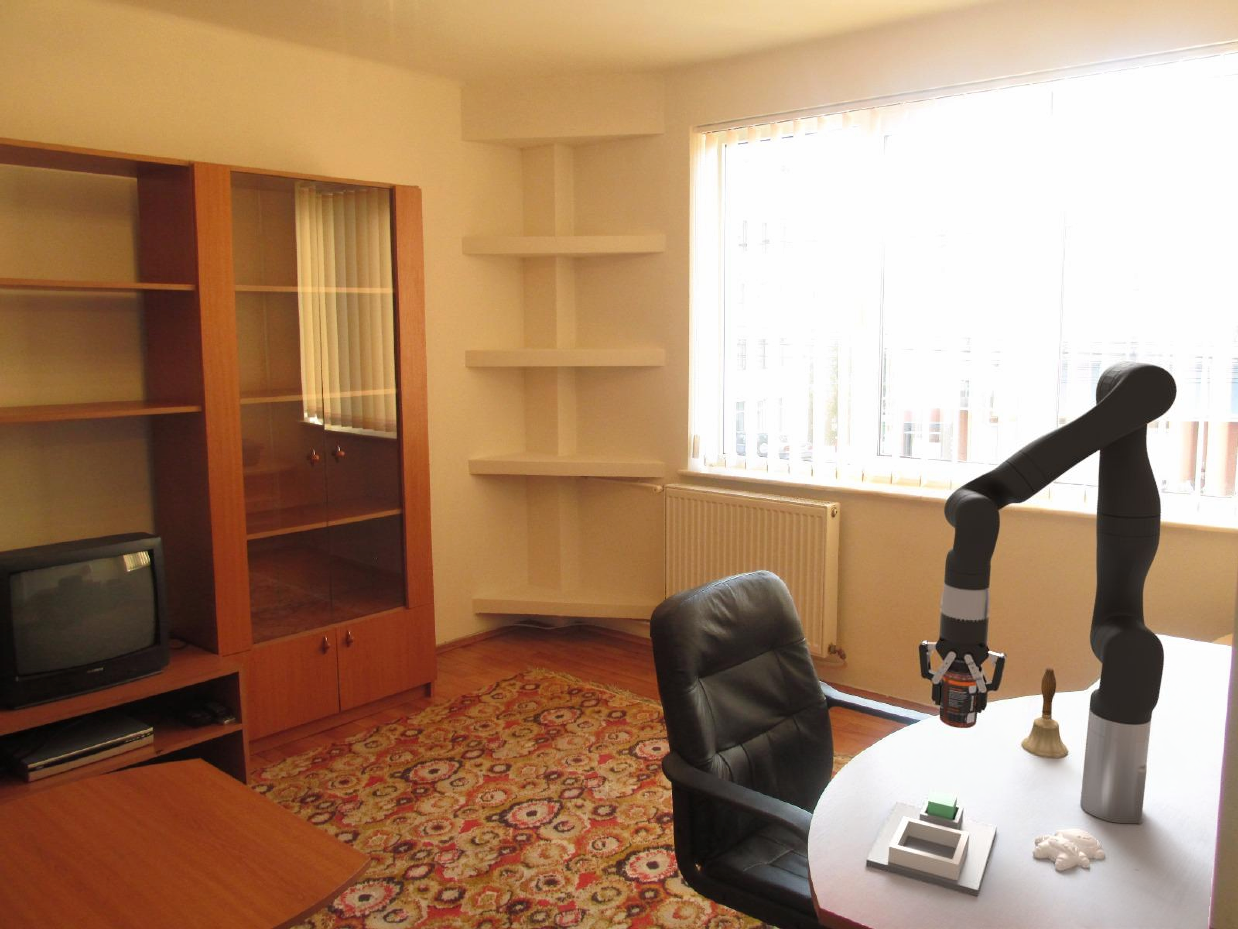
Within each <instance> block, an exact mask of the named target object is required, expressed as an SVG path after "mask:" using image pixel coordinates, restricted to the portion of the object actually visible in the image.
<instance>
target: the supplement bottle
mask: <svg viewBox="0 0 1238 929" xmlns="http://www.w3.org/2000/svg"><path fill="white" fill-rule="evenodd" d="M950 666H951V668H948V669H947V671H946V672H945V674H944V675H943V677H942V682H941V698H940V706H939V720H940V722H942V723H943V724H945V725H946V726H949V727H951V728H956V729H970V728H972V727H974V726H975V725H976V724H977V718H978V713H976V706H977V692H978V690H979V689H978V686H977V684H976V680H974V679H973V677H972V674H971V672H970V669H969V667H968V665H967V663H966V661H964V660H957V659H954V660H953V662H952V663H951V665H950Z"/></svg>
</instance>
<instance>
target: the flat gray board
mask: <svg viewBox="0 0 1238 929" xmlns="http://www.w3.org/2000/svg"><path fill="white" fill-rule="evenodd" d="M929 798H930V797H929ZM929 798H928V797H927V798H926V800H925V802H924V804H923V806H922V807H920V806H915V805H911V804H907V803H904V802H901V801H900V802H899V801H895V804H894V805H893V808H892V809H891V812H890V813H889V815H888V817H887V819H886V821H885V822H884V824H883V826H882V828H881V831H880V833H879V834H878V837H877V838H876V840H875V842H874V844H873V846H872V848H871V850H870V852H869V854H868V856H867V858H866V862H865V866H866V867H869V868H873V869H877V870H881V871H884V872H888V873H891V874H895V875H898V876H903V877H906V878H910V879H913V880H916V881H920V882H924V883H928V884H930V885H935V886H939V887H943V888H946V889H949V890H954V891H955V892H960V893H964V894H967V895H970V896H975V897H978V895H979V893H980V889H981V885H982V882H983V879H984V875H985V871H986V868H987V865H988V861H989V858H990V855H991V851H992V848H993V845H994V844H993V843H994V841H995V837H996V835H995V834H997V829H998V827H997V825H994V824H989V823H986V822H982V821H977V820H974V819H970V818H969V819H968V818H965V817H964V808H965V807H964V806H961V805H959V804H958V805H957V804H956V815H955V818H954V820H951V819H946V818H942V817H938V816H934V815H930V814H927V812H928V800H929Z"/></svg>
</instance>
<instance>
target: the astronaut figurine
mask: <svg viewBox="0 0 1238 929" xmlns="http://www.w3.org/2000/svg"><path fill="white" fill-rule="evenodd" d="M1034 842H1035V844H1036V846H1035V847H1034V848H1033V850H1032V856H1033V857H1034V858H1036V857H1037V858H1036V859H1045V858H1046V857H1047V858H1049V859H1050V860H1052V861H1054V862H1055V863H1054V869H1055V870H1056V869H1057V871H1059V870H1061V871H1064V869H1065V870H1067V869H1068V870H1069V869H1070V868H1073V867H1075V866H1077V865H1079V866H1080V867H1083V868H1084V869H1085V868H1086V869H1088V868H1089V867H1090V864H1091V863H1090V859H1093V858H1094V860H1095V859H1097V860H1102V859H1104V858H1105V854H1106V853H1105V851H1104V850H1103V848H1102V845H1101V843H1100V841H1099V840H1098V839H1096V838H1095V837H1094V836H1093V835H1092V834H1091V833H1089V832H1087V831H1085V830H1082V829H1078V828H1067V829H1064V830H1062V829H1058V830H1056V831H1055V833H1054V835H1053V836H1051V835H1048V834H1045V835H1040V836H1038V837H1035V839H1034Z"/></svg>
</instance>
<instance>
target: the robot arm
mask: <svg viewBox="0 0 1238 929" xmlns="http://www.w3.org/2000/svg"><path fill="white" fill-rule="evenodd" d="M1175 380H1176V379H1174V377H1173V375H1172V374H1171V373H1170V372H1169V371H1168V370H1167V369H1165V368H1164V367H1161V366H1158V365H1157V364H1150V363H1143V362H1135V361H1120V362H1115V363H1113V364H1112V365H1110V366H1108V367H1107V368H1105V370H1104V371H1103V372H1102V374H1101V375H1100V377H1099V379H1098V381H1097V385H1096V388H1095V404H1096V405H1094V406H1093V407H1091V409H1089V410H1088V411H1086V412H1085V413H1083V414H1081V415H1080V416H1078V417H1077V418H1075V419H1073V420H1072V421H1070V422H1068V423H1066V424H1063V425H1062V426H1060V427H1057V428H1056V429H1054V430H1051V431H1049V432H1048V433H1046V434H1044V435H1042V436H1040V437H1037V438H1036V439H1034V440H1033V441H1031V442H1029V443H1028V444H1026V445H1025V446H1023V447H1022V448H1020V449H1019V450H1017V451H1016V452H1015V453H1014V454H1012V455H1011V456H1010V457H1008V458H1007V459H1005V461H1003V462H1001V463H1000V464H999V465H998V466H997V467H995V468H994V469H992V470H990V471H988V472H985V473H983V474H981V475H980V476H978V477H976V478H973V479H972V480H970V481H968V482H967V483H964V484H963V485H961V486H960V487H958V488H957V489H956V490H954V491H953V492H952V494H950V495H949V497H948V498H947V500H946V502H945V504H944V508H943V509H944V510H943V512H944V517H945V519H946V521H947V523H948V524H949V525H950V526H951V527H953V528H954V539H953V545H952V548H951V549H949V551H948V552H947V554H946V558H945V567H944V581H943V582H944V583H943V588H942V594H941V601H940V607H939V608H940V618H939V621H940V622H939V635H938V640H937V641H936V642H935V641H934V642H933V641H932V642H931V641H928V640H927V639H926V640H925V639H923V640H922V641H921V643H919V645H918V654H919V666H920V676H921V677H922V679H924V680H929V681H930V682H931V684H932V686H931V700H932V702H935V703H934V705H935V706H939V707H940V698H941V682H942V677H943V675H944V674H945V672H946V671H947V669H948V668H951V666H950V665H951V663H952V662H953V660H954V659H957V660H964V661H966V663H967V665H968V667H969V669H970V672H971V674H972V677H973V679H974V680H976V684H977V686H978V689H979V690H978V692H977V706H976V713H977V714H981V713H982V712H983V711H985V710H986V707H988V706H987V705H988V696H989V695H988V694H989V693H988V692H991V691H993V692H997V691H999V689H1000V686H1001V682H1002V678H1003V674H1004V670H1005V665H1006V662H1007V657H1008V656H1007V654H1006V652H999V653H997V652H993V651H992V650H991V651H990V649H989V646H988V635H989V621H990V607H991V594H990V582H991V581H990V580H991V570H992V566H991V565H992V564H991V562H992V558H993V555H994V553H995V551H996V550H995V549H996V545H997V542H998V539H999V533H1000V526H1001V516H1000V515H1001V514H1000V510H1002V509H1003V508H1005V507H1007V506H1009V505H1012V504H1022V503H1024V502H1026V501H1028V500H1029V499H1031V498H1032V497H1034V496H1035V495H1036V494H1037V493H1040V491H1042V490H1043V489H1045V488H1046V487H1048V486H1049V485H1050V484H1052V483H1053V482H1054V481H1055V480H1057V479H1059V477H1061V476H1062V475H1064V474H1065V473H1066V472H1069V470H1071V469H1073V467H1075V466H1077V465H1078V464H1080V463H1081V462H1083V461H1084V460H1085V459H1087V458H1089V457H1090V456H1092V455H1094V454H1095V453H1097V452H1099V460H1098V461H1099V463H1098V476H1097V478H1098V479H1097V480H1098V481H1097V482H1098V484H1097V501H1096V502H1097V503H1096V504H1097V505H1096V525H1095V526H1096V528H1095V530H1096V533H1095V534H1096V550H1095V551H1096V553H1095V554H1096V555H1095V556H1096V558H1095V559H1096V561H1095V562H1096V564H1095V566H1096V569H1095V570H1096V590H1095V598H1094V604H1093V606H1094V607H1093V612H1092V618H1091V624H1090V632H1089V643H1090V647H1091V651H1092V652H1093V655H1094V656H1095V657H1096V659H1098V662H1100V664H1101V671H1100V672H1101V673H1100V677H1099V678H1100V679H1099V686H1098V688H1097V689H1095V690H1093V691H1092V692H1091V694H1090V697H1089V699H1090V700H1089V709H1088V710H1089V711H1088V720H1087V731H1086V732H1087V733H1086V740H1085V752H1084V762H1083V770H1082V771H1083V773H1082V780H1081V783H1082V784H1081V791H1080V806H1081V808H1082V809H1083V810H1084V811H1086V812H1087V813H1088V814H1090V815H1092V817H1093V816H1094V817H1096V818H1097V819H1101V820H1104V821H1108V822H1112V823H1117V824H1118V823H1119V824H1131V823H1133V824H1139V825H1140V824H1142V820H1143V819H1142V818H1143V807H1144V798H1145V790H1146V781H1147V780H1146V779H1147V772H1148V771H1147V769H1148V768H1147V764H1148V763H1147V762H1148V755H1149V744H1150V737H1151V736H1150V734H1151V725H1152V717H1153V716H1152V715H1153V712H1154V710H1155V708H1156V706H1157V704H1158V701H1159V699H1160V692H1161V686H1162V679H1163V672H1164V665H1165V664H1164V663H1165V650H1164V645H1163V643H1162V641H1161V640H1160V638H1159V637H1158V636H1157V634H1155V633H1154V632H1153V631H1152V630H1151V629H1150V628H1148V626H1146V624H1145V616H1144V588H1145V582H1146V579H1147V576H1148V573H1149V571H1150V568H1151V566H1152V565H1153V563H1154V559H1155V557H1156V554H1157V553H1158V552H1157V551H1158V549H1159V544H1160V539H1161V537H1160V536H1161V523H1162V522H1161V520H1162V517H1161V516H1162V505H1161V504H1162V503H1161V496H1160V492H1159V487H1158V484H1157V480H1156V478H1155V475H1154V471H1153V469H1152V465H1151V463H1150V462H1151V461H1150V458H1149V454H1148V445H1147V439H1148V438H1147V435H1148V424H1150V423H1152V422H1153V421H1156V420H1158V419H1159V418H1161V417H1163V415H1165V414H1166V413H1167V412H1168V411H1169V410H1170V409H1171V408H1172V406H1173V405H1174V404H1175V400H1176V398H1177V391H1178V390H1177V384H1176V381H1175ZM934 651H936V652H937V654H938V655H939V657H940V658H941V660H942V662H941V664H940V665H939V667H938V669H937V670H936V671H934V670H932V666H931V665H932V663H931V656H932V655H933V653H934ZM988 659H989V660H990V663H991V666H992V667H994V670H993V675H992V680H988V679H987V677H986V674H985V670H984V668H983V663H984V662H985V661H986V660H988Z"/></svg>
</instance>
